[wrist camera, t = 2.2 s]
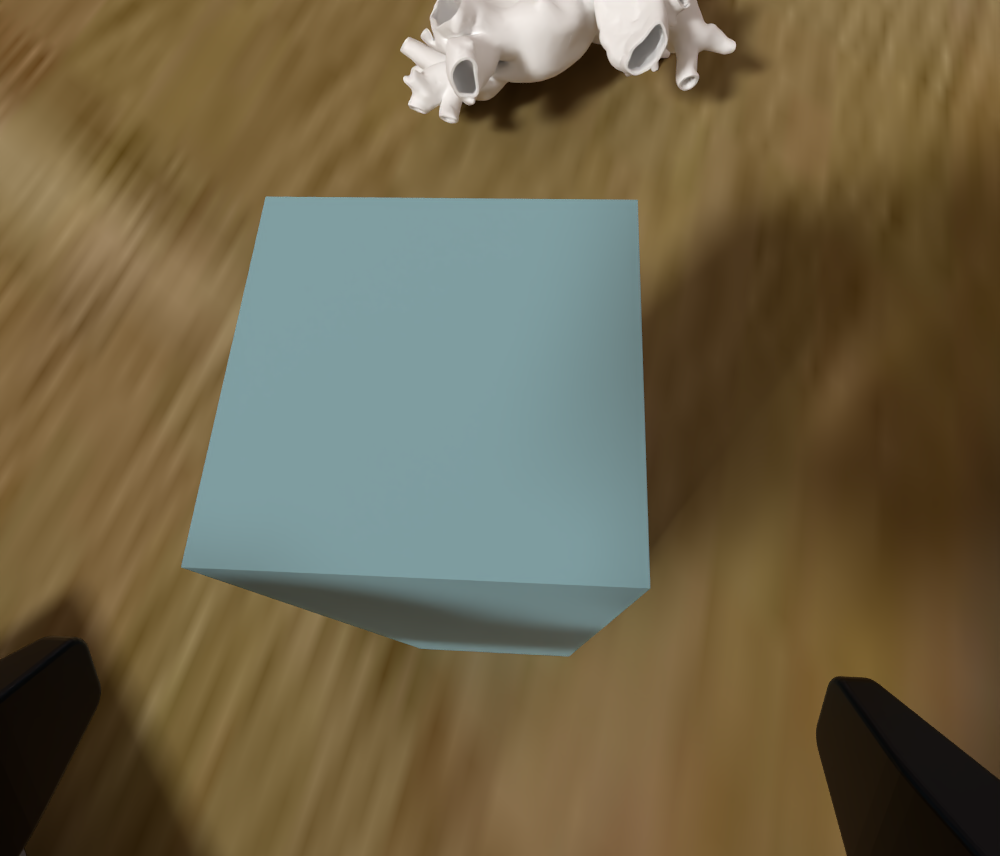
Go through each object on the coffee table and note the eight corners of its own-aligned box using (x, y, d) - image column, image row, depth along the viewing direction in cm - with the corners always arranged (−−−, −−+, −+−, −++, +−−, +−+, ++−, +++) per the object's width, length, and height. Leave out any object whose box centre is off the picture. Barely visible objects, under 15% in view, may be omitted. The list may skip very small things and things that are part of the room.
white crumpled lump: (687, -237, 22) (807, -103, 16) (689, -24, 28) (779, 139, 22) (363, -116, 24) (355, 46, 18) (425, 60, 30) (436, 233, 24)
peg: (568, 656, 17) (649, 589, 5) (421, 648, 18) (181, 567, 6) (570, 510, 19) (637, 199, 7) (433, 505, 19) (265, 197, 7)
